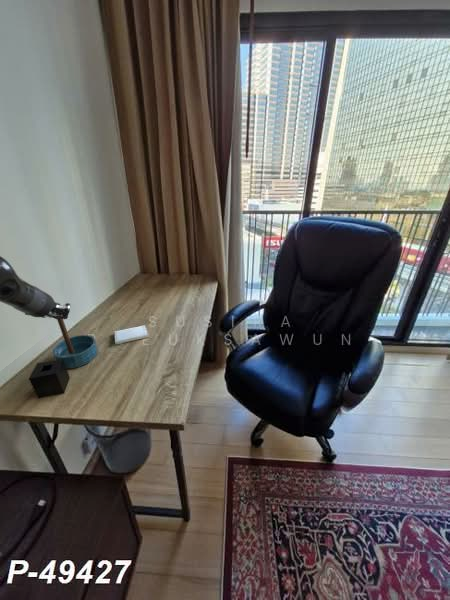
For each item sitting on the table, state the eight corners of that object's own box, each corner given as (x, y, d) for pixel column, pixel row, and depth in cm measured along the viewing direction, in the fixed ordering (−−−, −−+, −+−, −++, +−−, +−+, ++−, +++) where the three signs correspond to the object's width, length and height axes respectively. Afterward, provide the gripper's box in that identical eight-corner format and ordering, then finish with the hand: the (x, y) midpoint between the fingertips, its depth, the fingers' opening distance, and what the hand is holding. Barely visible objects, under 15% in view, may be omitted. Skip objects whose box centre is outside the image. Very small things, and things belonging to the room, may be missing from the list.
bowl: (52, 373, 84) (47, 360, 82) (63, 350, 96) (59, 338, 93) (95, 365, 88) (91, 353, 85) (100, 344, 99) (97, 332, 97)
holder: (38, 398, 75) (28, 378, 71) (45, 382, 81) (37, 362, 77) (64, 393, 76) (56, 373, 73) (70, 377, 83) (62, 358, 79)
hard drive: (114, 341, 98) (147, 334, 102) (114, 331, 104) (144, 324, 109) (115, 345, 98) (148, 337, 103) (115, 334, 105) (145, 327, 109)
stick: (68, 354, 90) (53, 310, 82) (69, 351, 91) (54, 308, 83) (73, 353, 90) (58, 309, 82) (74, 351, 92) (59, 307, 84)
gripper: (58, 286, 72) (84, 304, 89) (6, 289, 71) (42, 308, 87) (56, 311, 70) (83, 325, 86) (2, 315, 68) (40, 329, 85)
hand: (62, 316), depth 87 cm, fingers closed on stick, 1 cm apart
